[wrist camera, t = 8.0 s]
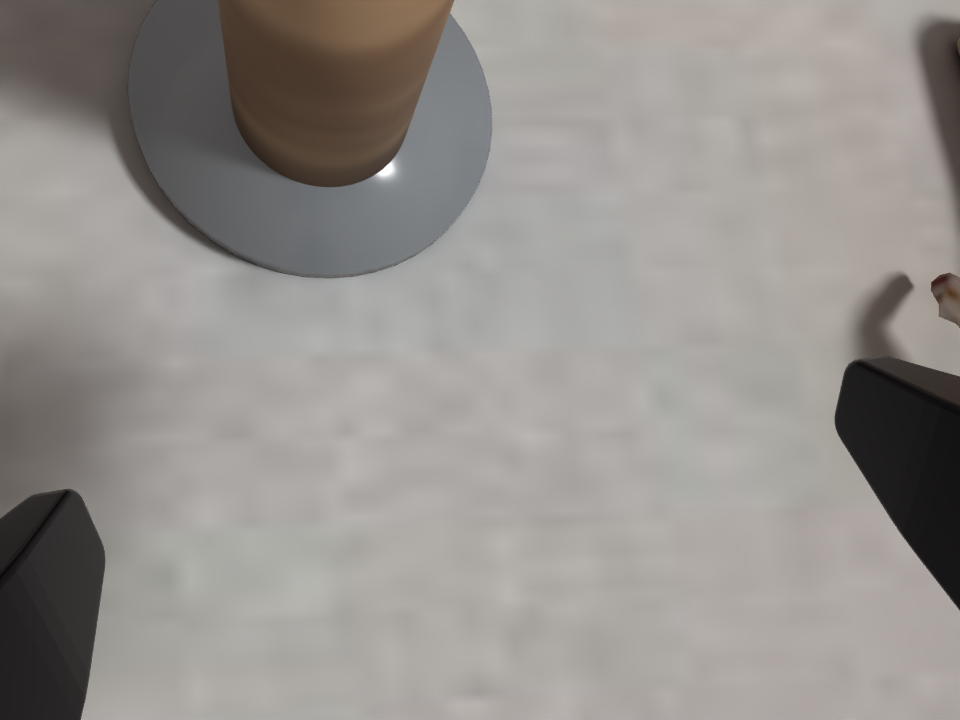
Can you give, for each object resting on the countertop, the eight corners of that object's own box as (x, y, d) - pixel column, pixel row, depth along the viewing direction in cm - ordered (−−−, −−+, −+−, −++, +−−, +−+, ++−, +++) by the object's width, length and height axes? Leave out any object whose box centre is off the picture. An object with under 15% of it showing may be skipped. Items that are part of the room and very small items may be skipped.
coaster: (398, 340, 18) (402, 335, 18) (56, 162, 17) (49, 151, 16) (535, 70, 21) (542, 58, 20) (246, -108, 19) (245, -126, 19)
